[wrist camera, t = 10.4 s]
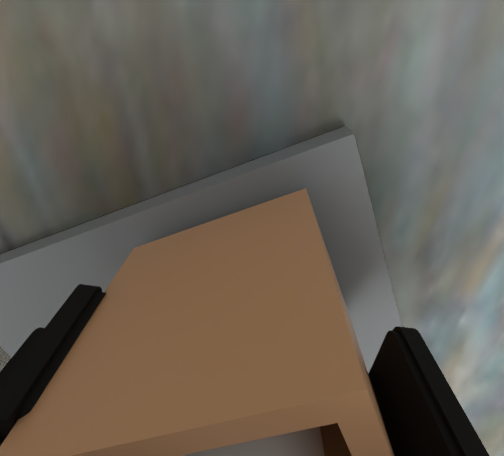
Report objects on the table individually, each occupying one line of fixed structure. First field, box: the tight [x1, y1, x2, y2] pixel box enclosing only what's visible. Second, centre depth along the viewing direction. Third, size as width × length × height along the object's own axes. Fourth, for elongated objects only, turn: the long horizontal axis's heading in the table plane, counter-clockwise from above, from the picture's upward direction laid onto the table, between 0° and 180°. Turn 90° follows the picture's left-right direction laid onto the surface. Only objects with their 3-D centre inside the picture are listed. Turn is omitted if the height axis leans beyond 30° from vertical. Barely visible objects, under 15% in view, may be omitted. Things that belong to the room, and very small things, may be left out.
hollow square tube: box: [0, 188, 395, 456], centre depth 9 cm, size 6×6×7 cm
